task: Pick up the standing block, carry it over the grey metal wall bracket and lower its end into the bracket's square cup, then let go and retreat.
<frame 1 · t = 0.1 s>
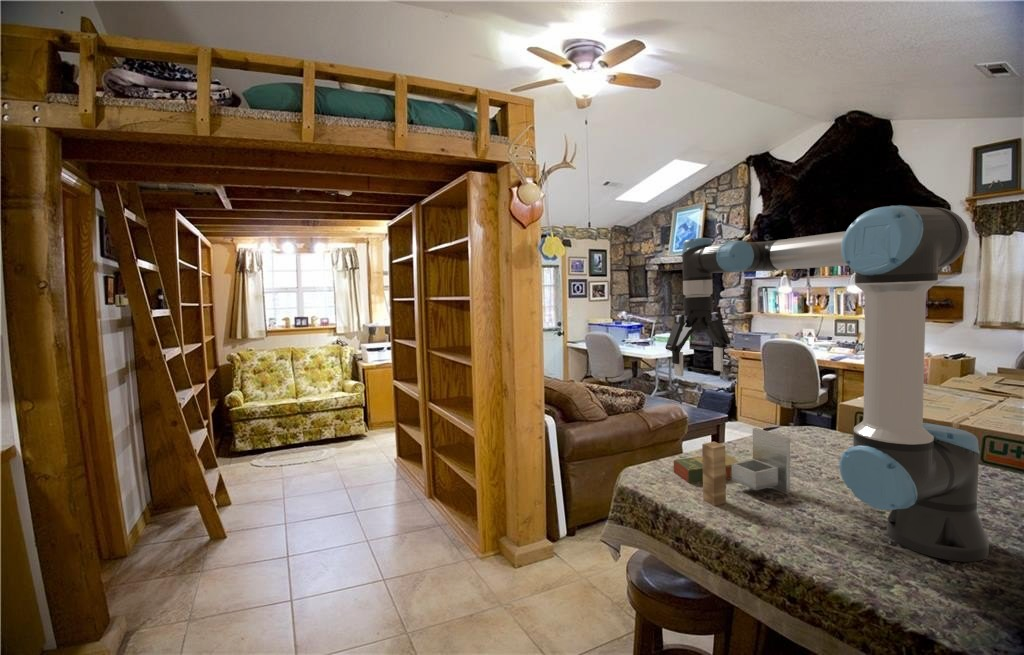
hand: (699, 373, 135), 28 cm above the table, fingers open, 13 cm apart
block: (714, 501, 118), on the table
bracket: (754, 490, 123), on the table
carton: (707, 476, 135), on the table
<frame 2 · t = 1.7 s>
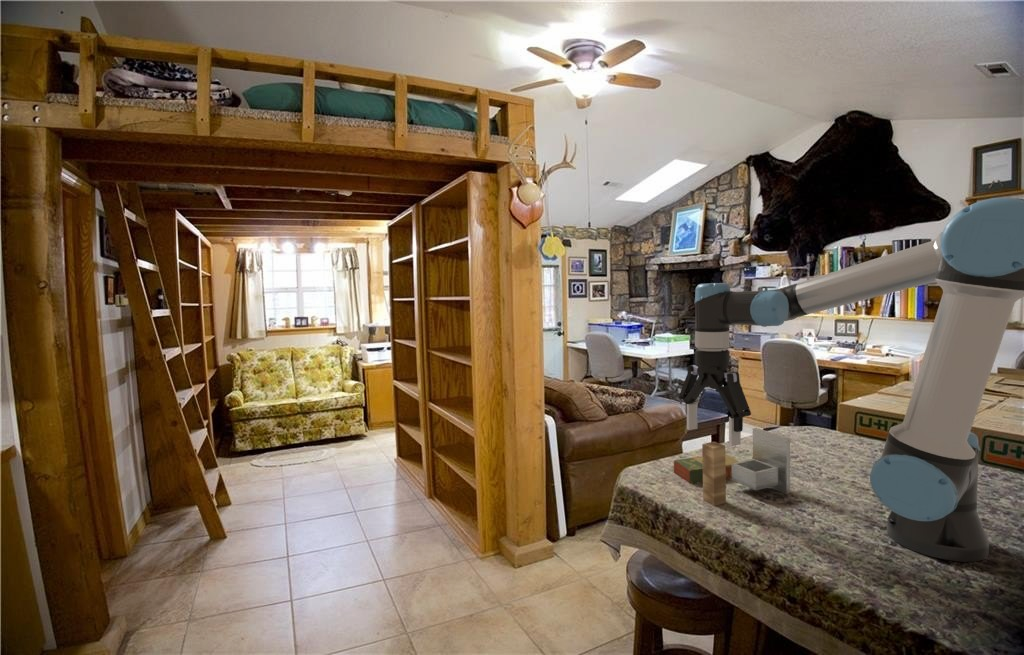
hand: (712, 436, 117), 16 cm above the table, fingers open, 13 cm apart
nothing on the table moved.
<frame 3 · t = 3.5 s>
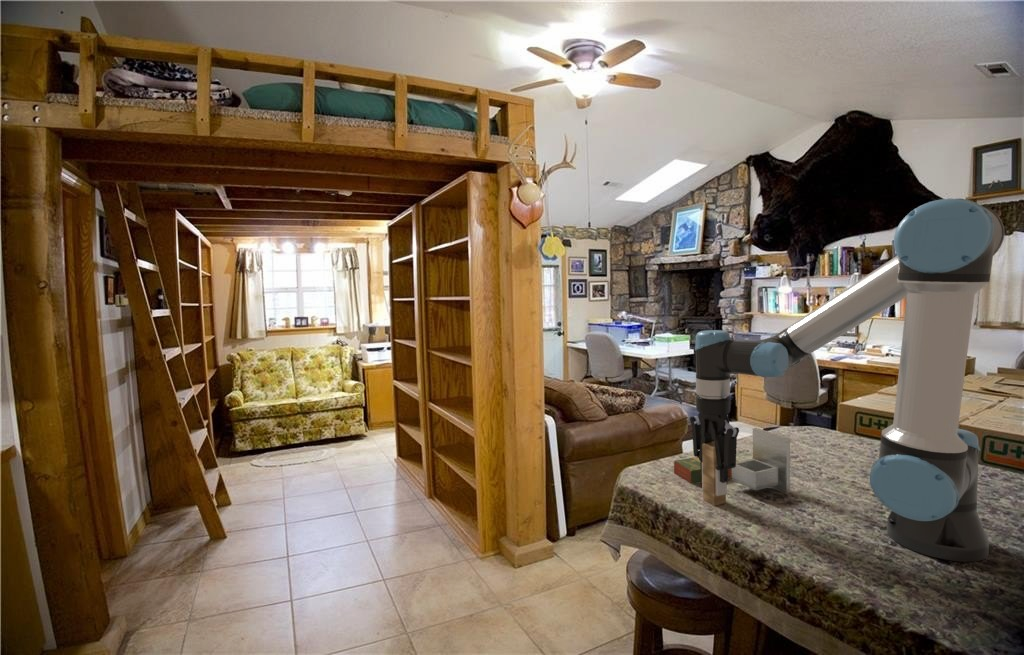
hand: (714, 490, 118), 3 cm above the table, fingers closed on block, 4 cm apart
block: (714, 501, 118), on the table, touching gripper
everything else where it was.
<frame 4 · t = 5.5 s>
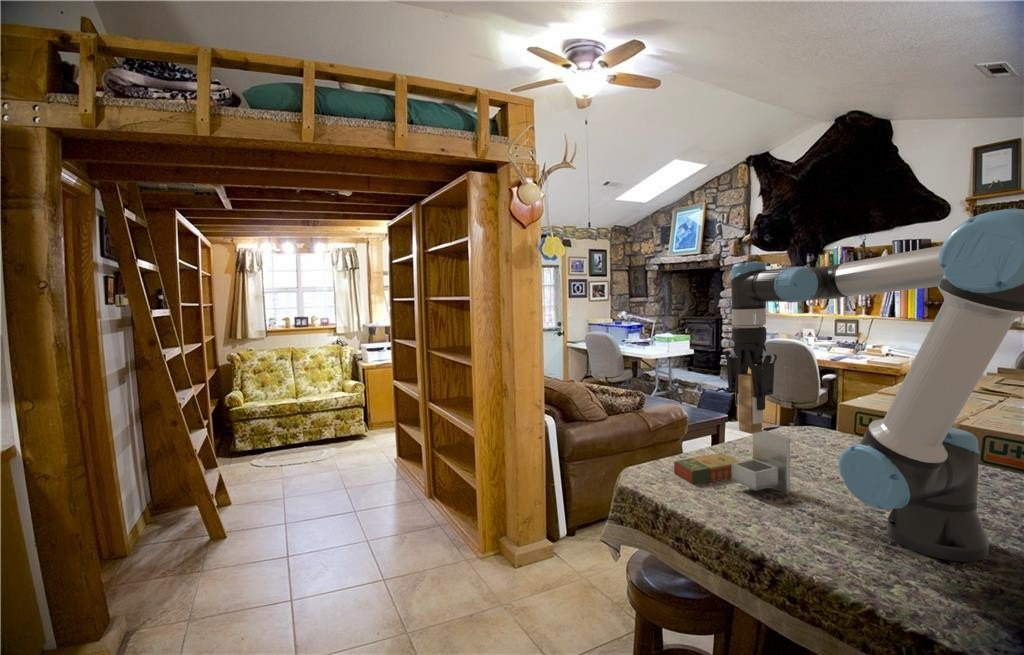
hand: (750, 420, 121), 18 cm above the table, fingers closed on block, 4 cm apart
block: (750, 430, 121), point 16 cm above the table, touching gripper
everything else where it was.
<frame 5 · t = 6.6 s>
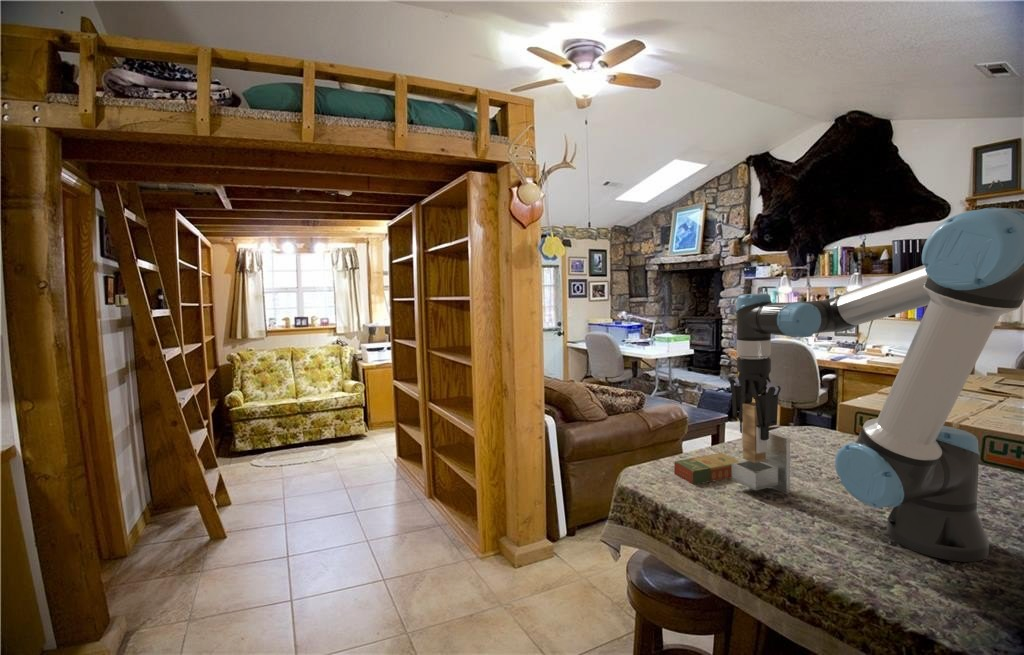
hand: (754, 449, 122), 11 cm above the table, fingers closed on block, 4 cm apart
block: (754, 459, 122), point 8 cm above the table, touching gripper
everything else where it was.
when the fingers open (7 cm above the table, at t = 7.5 s): block drops 2 cm, resting on bracket.
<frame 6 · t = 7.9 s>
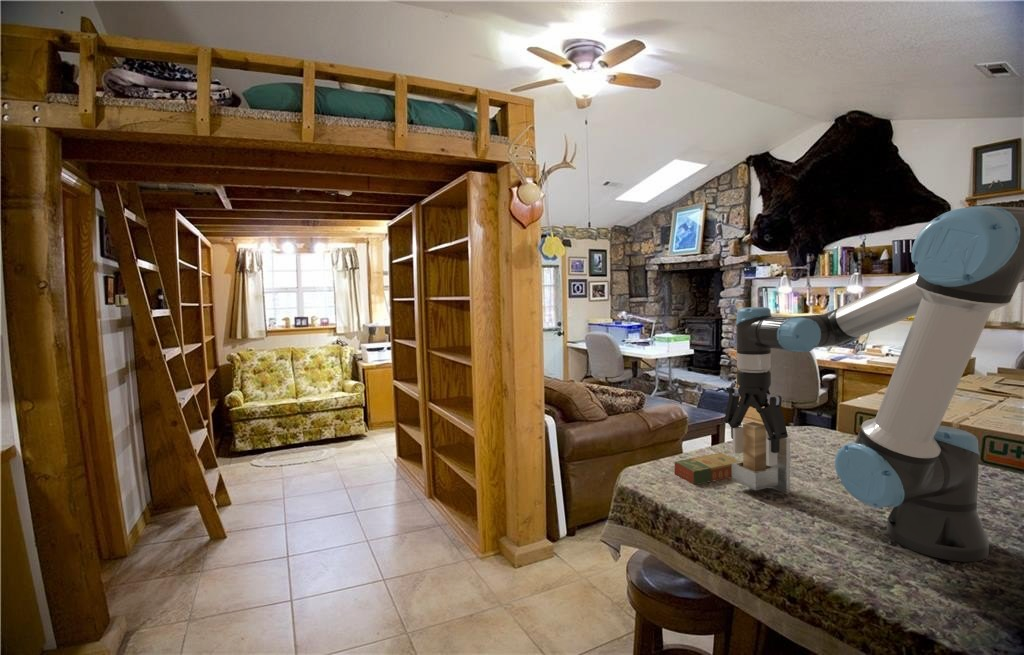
hand: (754, 458, 122), 8 cm above the table, fingers open, 9 cm apart
block: (754, 479, 123), point 3 cm above the table, touching bracket
everything else where it was.
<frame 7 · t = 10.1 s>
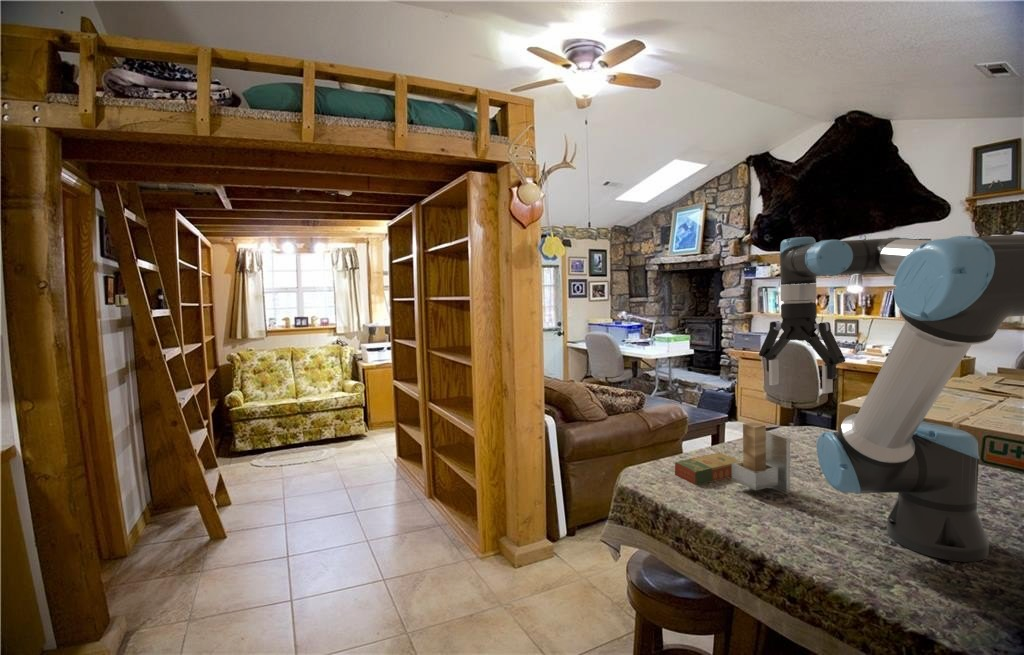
hand: (799, 388, 120), 26 cm above the table, fingers open, 13 cm apart
nothing on the table moved.
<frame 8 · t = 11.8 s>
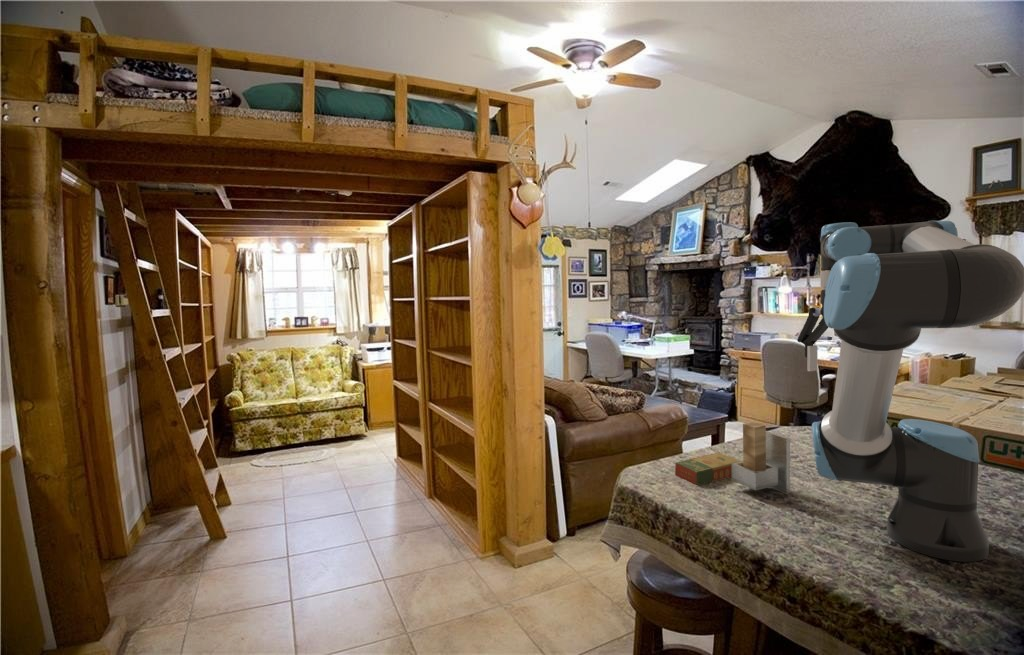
hand: (838, 374, 120), 29 cm above the table, fingers open, 13 cm apart
at the end: block 0.0 cm off-centre on the bracket, point 3.0 cm above the bracket's base; block tilted 0°; the gripper is holding nothing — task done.
